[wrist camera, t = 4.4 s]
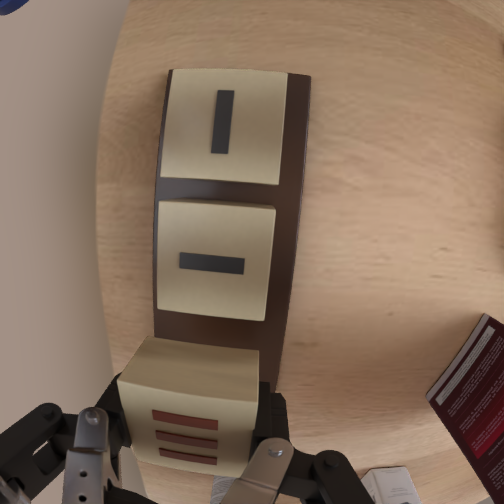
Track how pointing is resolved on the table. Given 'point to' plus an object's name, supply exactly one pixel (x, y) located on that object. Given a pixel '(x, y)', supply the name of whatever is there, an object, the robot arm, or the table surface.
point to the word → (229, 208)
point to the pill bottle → (220, 488)
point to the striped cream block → (191, 405)
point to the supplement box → (477, 403)
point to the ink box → (391, 486)
